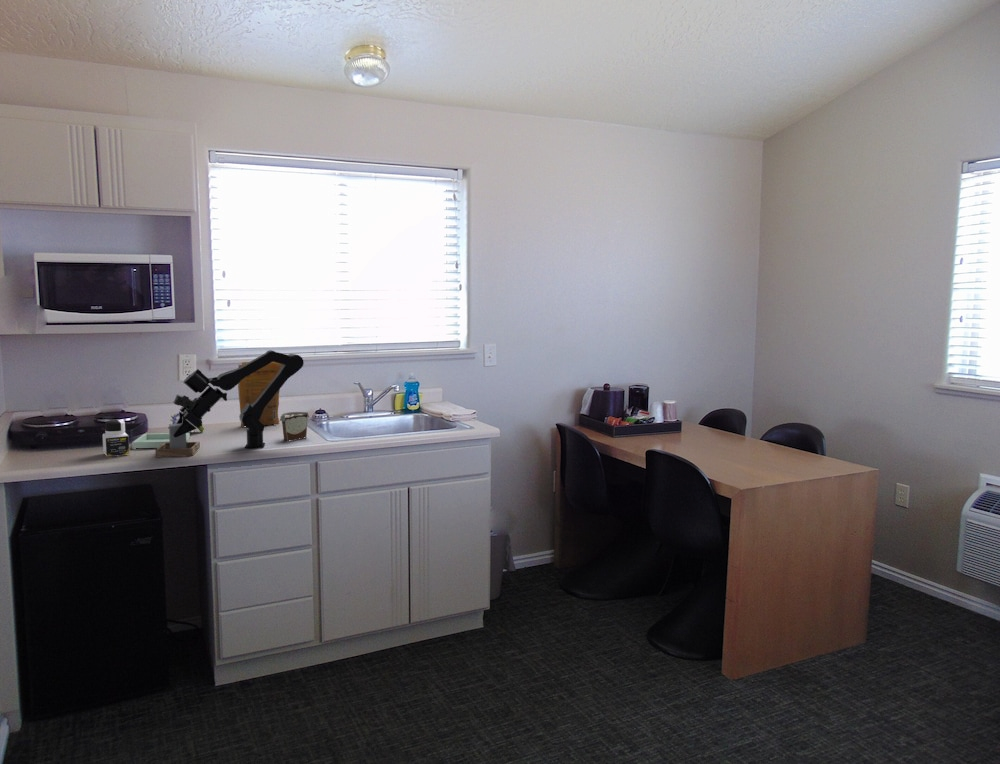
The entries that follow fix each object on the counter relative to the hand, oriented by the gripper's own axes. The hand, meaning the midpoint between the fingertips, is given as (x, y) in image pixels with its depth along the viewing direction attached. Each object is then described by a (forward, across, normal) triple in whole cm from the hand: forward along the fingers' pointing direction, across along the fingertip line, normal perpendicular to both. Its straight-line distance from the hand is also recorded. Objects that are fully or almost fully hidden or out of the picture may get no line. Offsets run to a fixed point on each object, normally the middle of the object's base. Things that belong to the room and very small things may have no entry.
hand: (173, 434), depth 257 cm
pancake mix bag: (-22, -42, +31) cm, 56 cm away
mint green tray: (+6, -18, +3) cm, 19 cm away
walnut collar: (+4, 0, +6) cm, 7 cm away
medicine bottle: (+18, -5, -8) cm, 20 cm away
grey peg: (+4, 0, +6) cm, 7 cm away
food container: (-25, -9, +35) cm, 44 cm away
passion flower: (0, -35, +10) cm, 37 cm away
